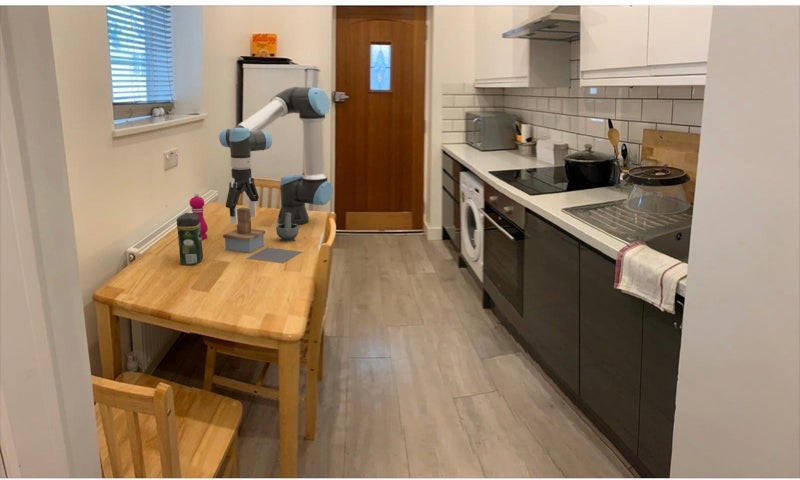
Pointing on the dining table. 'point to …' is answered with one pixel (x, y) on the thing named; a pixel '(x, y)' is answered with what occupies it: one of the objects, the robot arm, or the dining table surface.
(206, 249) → the dining table surface
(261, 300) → the dining table surface
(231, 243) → the blue-grey square box
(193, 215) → the coffee jar
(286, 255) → the mat
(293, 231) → the mortar and pestle
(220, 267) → the dining table surface
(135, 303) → the dining table surface
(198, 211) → the pepper mill
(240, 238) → the lid
